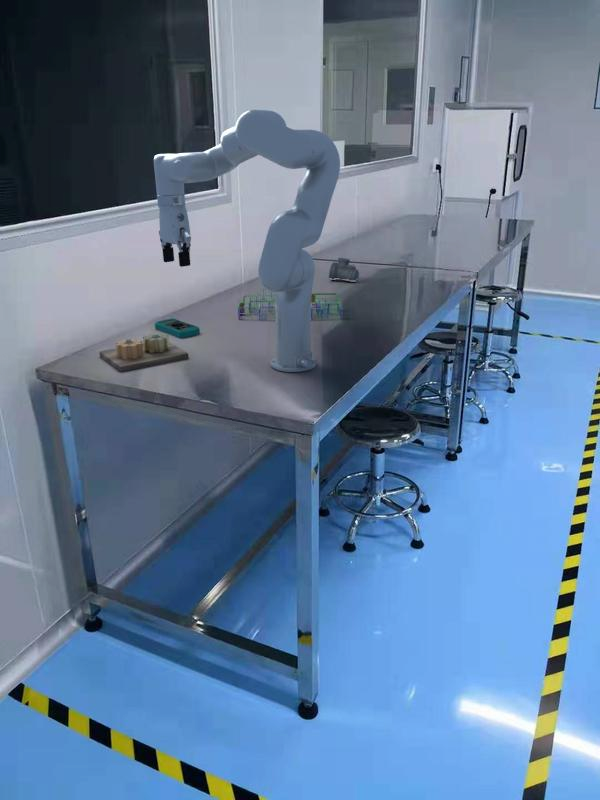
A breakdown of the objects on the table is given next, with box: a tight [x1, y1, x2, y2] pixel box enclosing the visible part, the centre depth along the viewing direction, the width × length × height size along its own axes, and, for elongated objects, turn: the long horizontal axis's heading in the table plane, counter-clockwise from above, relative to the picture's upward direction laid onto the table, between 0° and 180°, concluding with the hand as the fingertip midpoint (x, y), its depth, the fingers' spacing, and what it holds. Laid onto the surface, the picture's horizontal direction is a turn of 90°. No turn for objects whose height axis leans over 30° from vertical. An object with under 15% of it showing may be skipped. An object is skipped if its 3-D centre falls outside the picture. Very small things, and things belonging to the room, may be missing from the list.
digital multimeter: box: [154, 317, 201, 339], centre depth 208 cm, size 8×15×3 cm, turn 44°
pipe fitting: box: [328, 257, 360, 280], centre depth 277 cm, size 12×8×10 cm
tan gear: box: [115, 338, 143, 359], centre depth 180 cm, size 7×7×4 cm
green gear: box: [142, 332, 170, 353], centre depth 185 cm, size 7×7×4 cm
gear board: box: [99, 333, 189, 373], centre depth 183 cm, size 16×20×6 cm
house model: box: [237, 288, 342, 321], centre depth 233 cm, size 35×30×5 cm
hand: (176, 263), depth 185 cm, fingers open, 9 cm apart
